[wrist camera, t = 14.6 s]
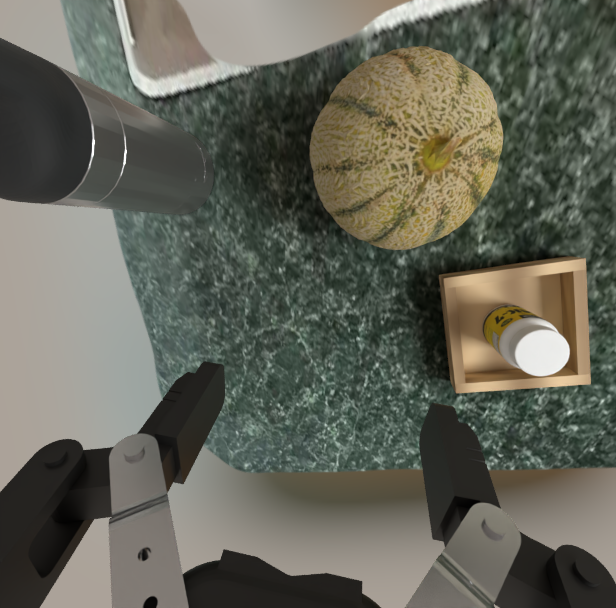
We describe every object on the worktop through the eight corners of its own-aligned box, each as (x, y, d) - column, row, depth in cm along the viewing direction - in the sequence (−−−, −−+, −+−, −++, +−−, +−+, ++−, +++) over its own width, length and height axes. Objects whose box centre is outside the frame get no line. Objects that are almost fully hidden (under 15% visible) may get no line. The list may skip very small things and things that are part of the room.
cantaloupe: (320, 105, 36) (278, 20, 21) (474, 81, 32) (548, -39, 18) (329, 250, 38) (297, 262, 24) (472, 241, 35) (534, 248, 21)
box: (450, 381, 39) (456, 393, 36) (438, 274, 37) (443, 278, 34) (573, 371, 36) (590, 384, 33) (568, 256, 34) (585, 258, 31)
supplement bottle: (526, 298, 35) (571, 318, 27) (535, 342, 35) (581, 375, 27) (476, 309, 36) (504, 332, 28) (485, 352, 37) (515, 386, 29)
